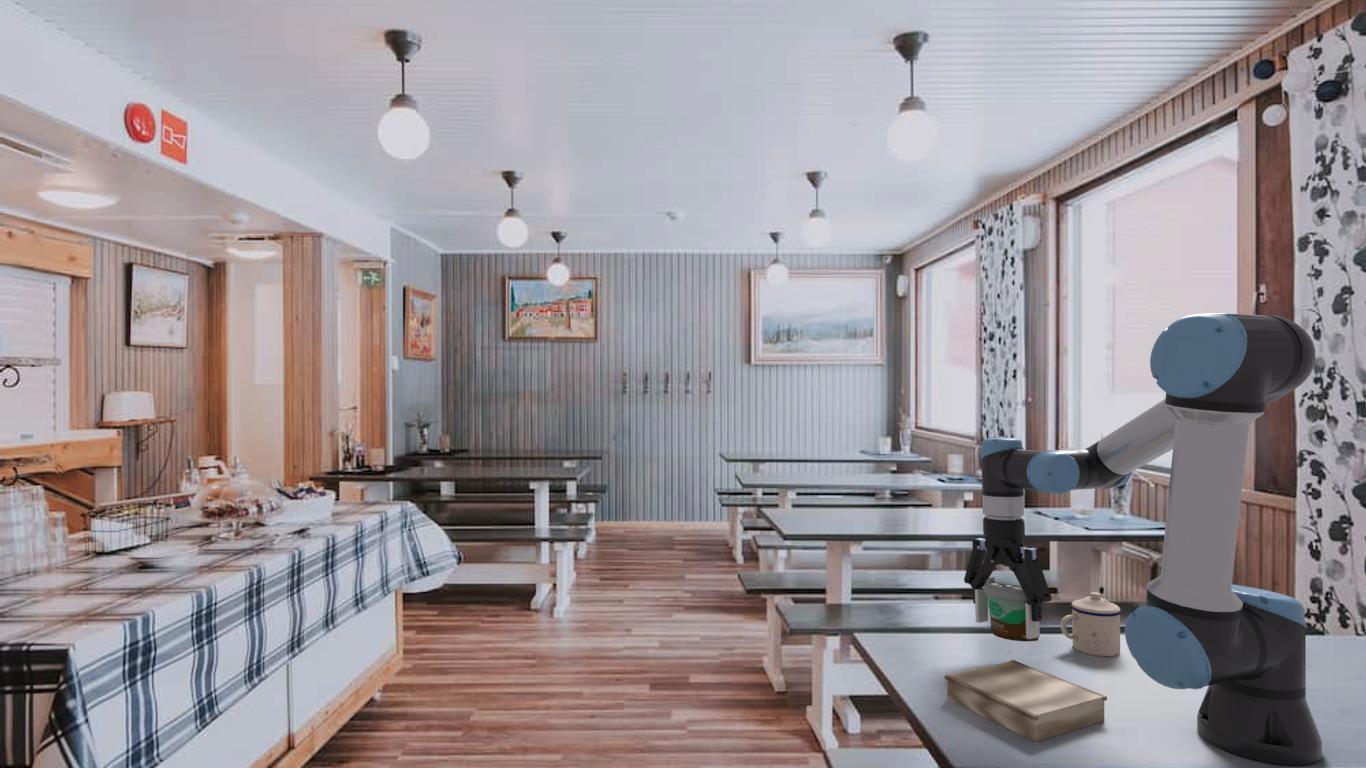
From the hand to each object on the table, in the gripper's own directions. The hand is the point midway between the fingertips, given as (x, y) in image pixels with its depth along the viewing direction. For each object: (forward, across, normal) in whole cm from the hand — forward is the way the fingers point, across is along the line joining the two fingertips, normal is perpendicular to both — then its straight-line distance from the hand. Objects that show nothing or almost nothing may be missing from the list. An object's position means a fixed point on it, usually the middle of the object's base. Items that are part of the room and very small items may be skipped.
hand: (1006, 629), depth 147 cm
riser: (+7, -15, +14) cm, 22 cm away
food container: (+1, 0, 0) cm, 1 cm away
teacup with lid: (+7, -1, -22) cm, 23 cm away
